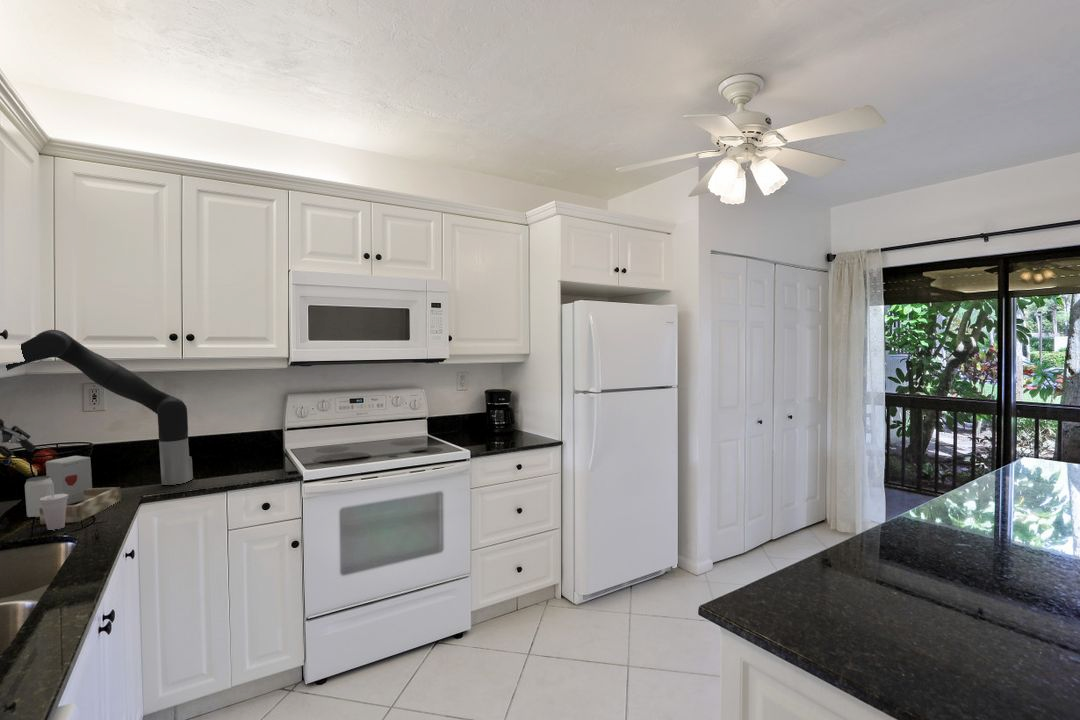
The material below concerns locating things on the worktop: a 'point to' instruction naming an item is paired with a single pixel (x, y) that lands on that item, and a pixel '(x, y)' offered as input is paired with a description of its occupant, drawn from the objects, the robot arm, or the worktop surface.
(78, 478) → the supplement box
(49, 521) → the smoothie
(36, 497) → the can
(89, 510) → the crate
